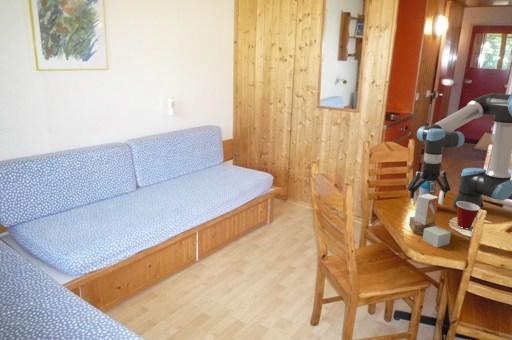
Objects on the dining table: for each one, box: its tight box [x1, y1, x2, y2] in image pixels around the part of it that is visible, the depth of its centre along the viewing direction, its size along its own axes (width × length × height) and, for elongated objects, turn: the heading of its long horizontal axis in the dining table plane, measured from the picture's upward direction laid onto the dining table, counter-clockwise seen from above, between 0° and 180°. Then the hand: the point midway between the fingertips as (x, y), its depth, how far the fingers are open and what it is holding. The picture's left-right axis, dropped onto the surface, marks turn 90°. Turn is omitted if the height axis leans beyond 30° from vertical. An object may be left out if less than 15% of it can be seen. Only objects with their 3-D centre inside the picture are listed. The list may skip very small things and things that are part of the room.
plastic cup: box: [456, 201, 480, 229], centre depth 192 cm, size 11×11×12 cm
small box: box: [414, 194, 439, 225], centre depth 187 cm, size 8×6×13 cm
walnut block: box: [408, 216, 437, 235], centre depth 189 cm, size 10×10×5 cm
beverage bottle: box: [418, 179, 437, 196], centre depth 217 cm, size 8×8×20 cm
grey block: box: [422, 225, 452, 248], centre depth 176 cm, size 8×8×6 cm
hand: (426, 204), depth 186 cm, fingers open, 13 cm apart
